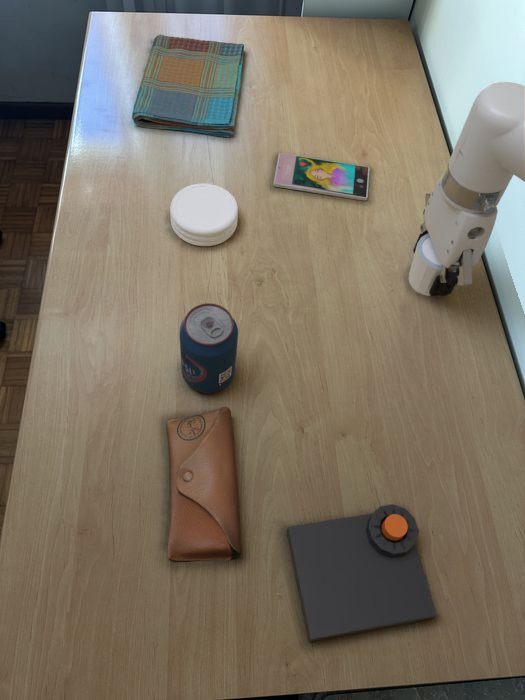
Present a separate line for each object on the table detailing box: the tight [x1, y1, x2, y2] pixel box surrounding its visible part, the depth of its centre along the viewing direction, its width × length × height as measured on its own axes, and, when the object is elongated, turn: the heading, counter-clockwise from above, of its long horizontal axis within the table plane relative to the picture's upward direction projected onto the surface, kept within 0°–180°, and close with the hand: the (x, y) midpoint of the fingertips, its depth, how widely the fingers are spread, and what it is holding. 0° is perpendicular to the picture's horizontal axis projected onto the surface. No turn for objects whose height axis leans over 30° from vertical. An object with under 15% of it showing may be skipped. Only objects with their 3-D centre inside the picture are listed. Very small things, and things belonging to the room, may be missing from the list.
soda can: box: [179, 302, 239, 394], centre depth 82 cm, size 7×7×12 cm
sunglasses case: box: [165, 406, 242, 563], centre depth 78 cm, size 18×7×7 cm
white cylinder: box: [408, 233, 457, 297], centre depth 95 cm, size 7×7×7 cm
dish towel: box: [131, 34, 245, 138], centre depth 115 cm, size 17×23×2 cm
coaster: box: [169, 182, 239, 247], centre depth 99 cm, size 10×10×4 cm
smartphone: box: [272, 152, 370, 202], centre depth 106 cm, size 7×1×15 cm
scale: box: [286, 503, 437, 643], centre depth 74 cm, size 14×12×4 cm
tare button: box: [382, 514, 408, 541], centre depth 74 cm, size 3×3×2 cm
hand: (431, 271), depth 96 cm, fingers closed on white cylinder, 6 cm apart
